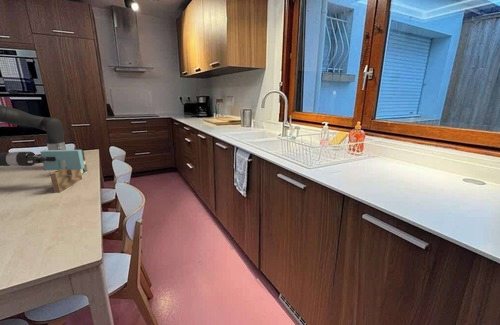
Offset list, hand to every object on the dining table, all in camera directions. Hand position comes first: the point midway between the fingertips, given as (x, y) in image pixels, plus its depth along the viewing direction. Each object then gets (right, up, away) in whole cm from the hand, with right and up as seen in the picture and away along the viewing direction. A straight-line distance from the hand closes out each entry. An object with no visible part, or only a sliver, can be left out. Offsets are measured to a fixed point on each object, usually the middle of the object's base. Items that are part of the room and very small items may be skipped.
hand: (57, 158), depth 125 cm
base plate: (+3, -15, +5) cm, 16 cm away
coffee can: (-6, -9, +24) cm, 27 cm away
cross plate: (+3, -6, +2) cm, 7 cm away
